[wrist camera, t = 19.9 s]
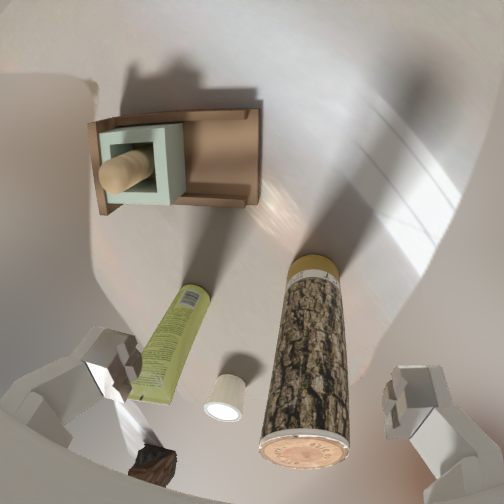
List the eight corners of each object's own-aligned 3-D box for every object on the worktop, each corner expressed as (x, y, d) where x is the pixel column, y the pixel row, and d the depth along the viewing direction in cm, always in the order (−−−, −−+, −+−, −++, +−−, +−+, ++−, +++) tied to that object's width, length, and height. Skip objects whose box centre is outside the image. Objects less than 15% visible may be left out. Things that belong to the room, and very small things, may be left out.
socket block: (121, 126, 34) (98, 133, 30) (182, 122, 33) (164, 127, 29) (128, 189, 38) (107, 203, 34) (186, 190, 37) (170, 205, 33)
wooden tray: (118, 116, 35) (87, 123, 29) (259, 108, 32) (248, 112, 26) (126, 196, 40) (99, 215, 34) (258, 202, 37) (248, 224, 32)
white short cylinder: (256, 387, 55) (249, 417, 49) (231, 397, 58) (223, 425, 52) (230, 367, 53) (221, 398, 47) (206, 378, 56) (195, 407, 50)
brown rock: (179, 464, 85) (162, 511, 68) (144, 452, 86) (125, 498, 69) (176, 451, 79) (157, 504, 62) (139, 438, 80) (116, 489, 63)
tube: (199, 317, 48) (152, 420, 31) (172, 299, 47) (115, 397, 30) (217, 295, 45) (169, 405, 28) (188, 276, 45) (127, 380, 28)
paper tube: (295, 299, 43) (272, 470, 22) (281, 258, 40) (245, 436, 19) (342, 290, 41) (352, 465, 20) (333, 246, 38) (344, 429, 17)
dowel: (139, 143, 35) (97, 159, 27) (165, 143, 35) (126, 159, 27) (141, 171, 37) (100, 193, 29) (166, 172, 36) (129, 195, 28)
